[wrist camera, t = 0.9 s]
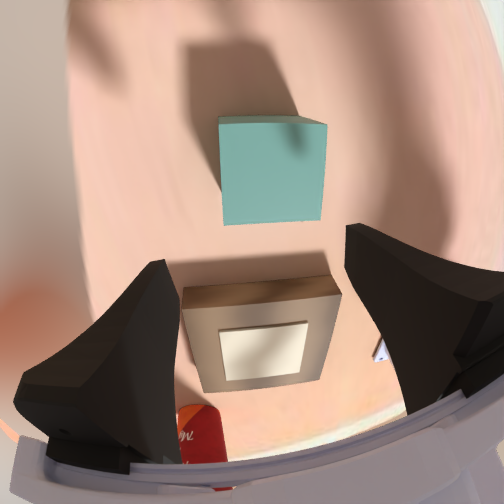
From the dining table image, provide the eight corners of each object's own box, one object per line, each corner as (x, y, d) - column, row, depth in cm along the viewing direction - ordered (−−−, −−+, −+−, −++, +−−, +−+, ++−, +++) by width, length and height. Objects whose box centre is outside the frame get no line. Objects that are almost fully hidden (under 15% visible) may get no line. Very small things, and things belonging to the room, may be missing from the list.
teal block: (298, 115, 16) (327, 124, 12) (296, 188, 19) (320, 220, 15) (218, 116, 16) (218, 124, 12) (221, 192, 18) (223, 225, 14)
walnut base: (329, 271, 23) (343, 295, 21) (312, 358, 30) (319, 381, 27) (184, 283, 22) (181, 311, 20) (203, 370, 29) (203, 394, 26)
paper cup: (168, 399, 31) (166, 503, 19) (229, 400, 32) (240, 504, 20) (174, 423, 35) (174, 509, 23) (226, 424, 36) (235, 510, 24)
